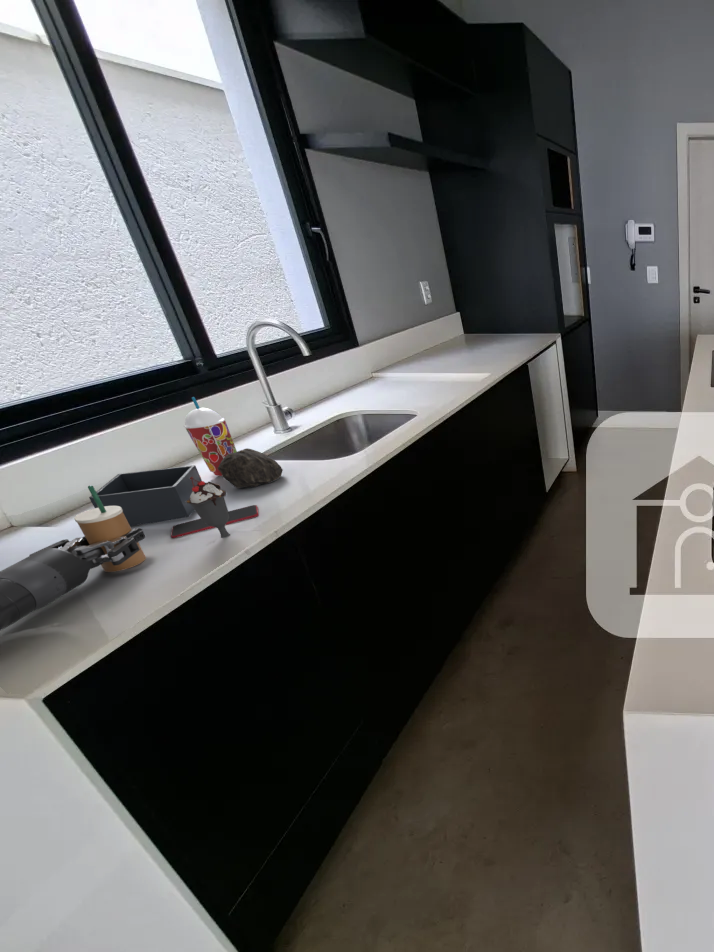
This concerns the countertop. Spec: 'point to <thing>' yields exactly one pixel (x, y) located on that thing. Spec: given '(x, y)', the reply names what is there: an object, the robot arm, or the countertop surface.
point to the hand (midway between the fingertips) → (122, 532)
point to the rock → (249, 468)
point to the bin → (151, 494)
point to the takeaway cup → (107, 530)
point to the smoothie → (209, 436)
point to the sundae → (210, 505)
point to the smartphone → (201, 526)
